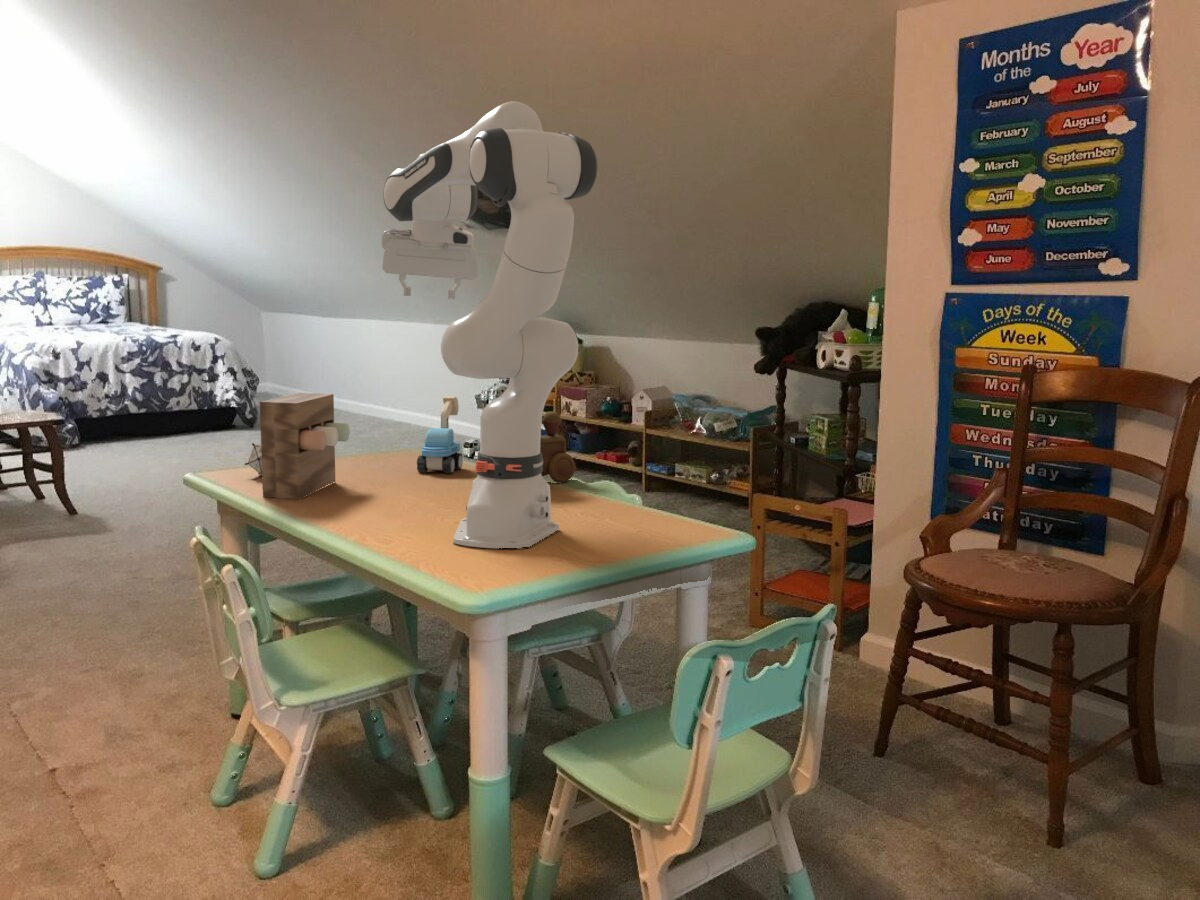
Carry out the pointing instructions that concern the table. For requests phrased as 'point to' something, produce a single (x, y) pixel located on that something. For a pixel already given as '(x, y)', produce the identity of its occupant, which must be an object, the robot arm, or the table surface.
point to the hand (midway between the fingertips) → (429, 297)
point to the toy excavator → (441, 443)
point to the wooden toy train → (555, 451)
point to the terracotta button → (312, 440)
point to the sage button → (340, 430)
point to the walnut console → (295, 445)
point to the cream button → (328, 434)
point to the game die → (256, 459)
